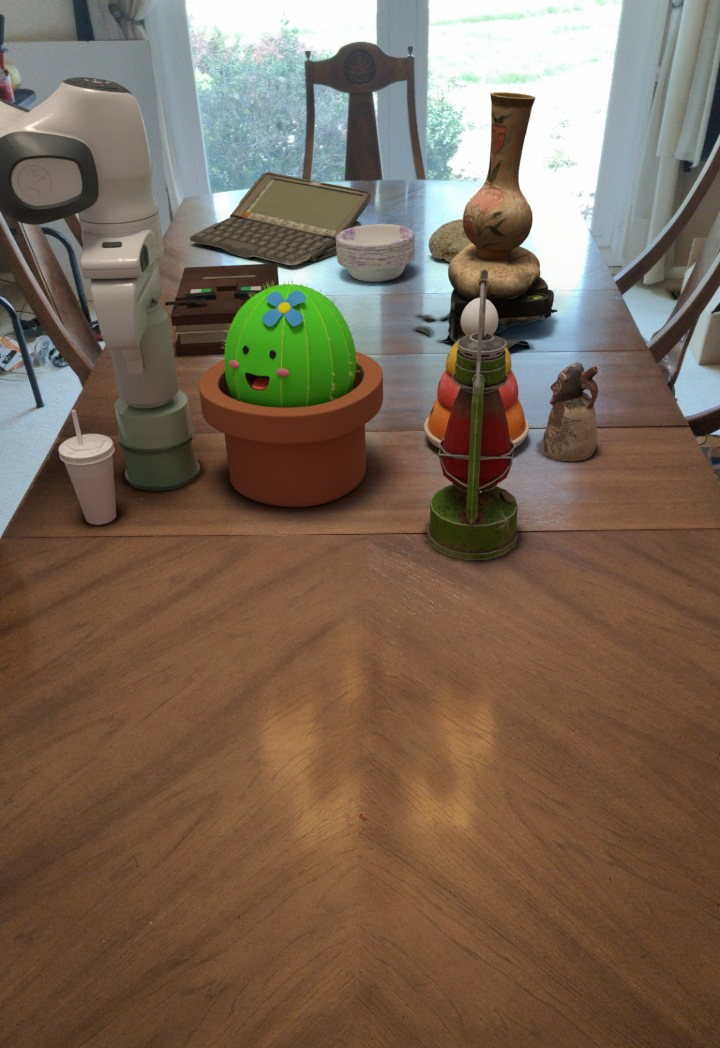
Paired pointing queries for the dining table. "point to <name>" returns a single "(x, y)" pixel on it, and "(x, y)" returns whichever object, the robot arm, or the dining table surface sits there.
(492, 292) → the vase
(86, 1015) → the dining table surface
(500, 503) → the lantern
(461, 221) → the decorative item
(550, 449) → the figurine
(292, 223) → the laptop
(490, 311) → the stacking toy
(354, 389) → the potted cactus
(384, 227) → the paper bowls
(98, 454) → the smoothie
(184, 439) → the cup stack
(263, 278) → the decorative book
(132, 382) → the can
